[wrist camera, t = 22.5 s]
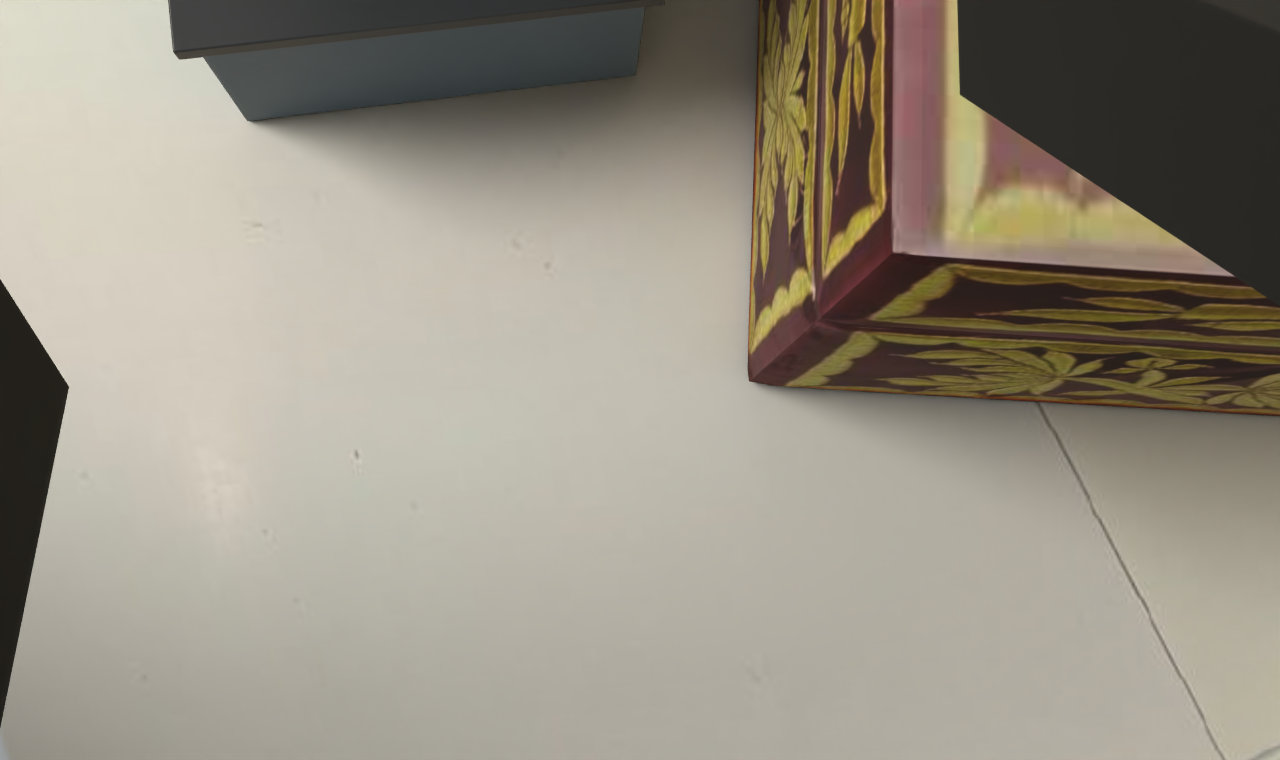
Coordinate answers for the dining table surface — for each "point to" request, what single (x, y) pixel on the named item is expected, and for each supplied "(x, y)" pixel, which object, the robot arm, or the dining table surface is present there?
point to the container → (401, 48)
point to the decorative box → (964, 241)
